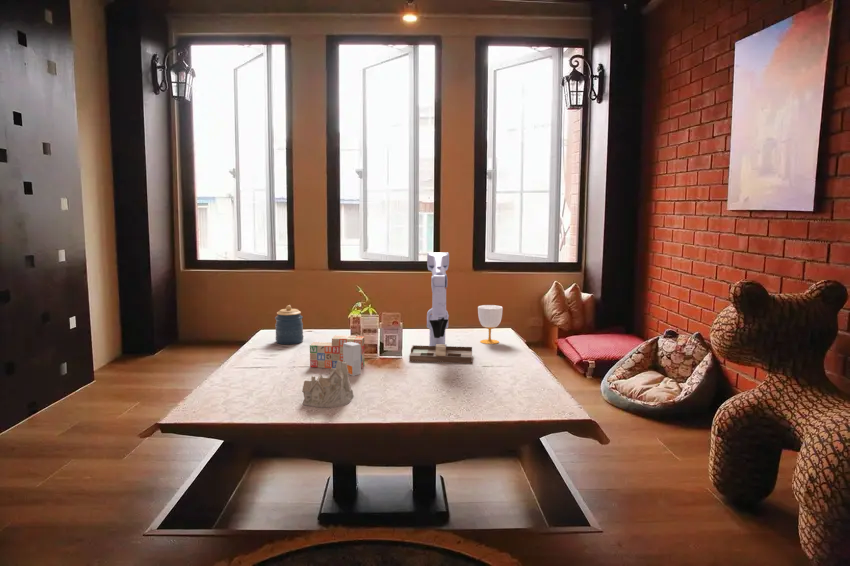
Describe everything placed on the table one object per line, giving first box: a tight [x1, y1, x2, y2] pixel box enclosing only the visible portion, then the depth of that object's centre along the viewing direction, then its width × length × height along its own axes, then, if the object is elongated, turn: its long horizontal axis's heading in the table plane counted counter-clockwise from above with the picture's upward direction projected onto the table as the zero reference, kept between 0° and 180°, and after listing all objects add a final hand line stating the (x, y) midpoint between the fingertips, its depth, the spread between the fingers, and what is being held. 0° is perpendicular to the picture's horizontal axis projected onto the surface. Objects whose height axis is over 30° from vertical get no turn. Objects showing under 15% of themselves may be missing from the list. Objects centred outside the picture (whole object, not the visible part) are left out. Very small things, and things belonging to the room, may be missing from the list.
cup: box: [477, 304, 504, 345], centre depth 290 cm, size 12×12×17 cm
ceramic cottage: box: [301, 361, 355, 408], centre depth 204 cm, size 16×16×15 cm
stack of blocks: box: [309, 334, 365, 370], centre depth 246 cm, size 21×6×12 cm, turn 85°
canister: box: [274, 304, 304, 345], centre depth 289 cm, size 13×13×18 cm
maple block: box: [436, 343, 446, 356], centre depth 256 cm, size 4×4×4 cm
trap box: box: [408, 344, 473, 364], centre depth 259 cm, size 12×26×4 cm, turn 85°
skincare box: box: [343, 342, 362, 377], centre depth 236 cm, size 6×4×12 cm
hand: (439, 337), depth 249 cm, fingers open, 7 cm apart
